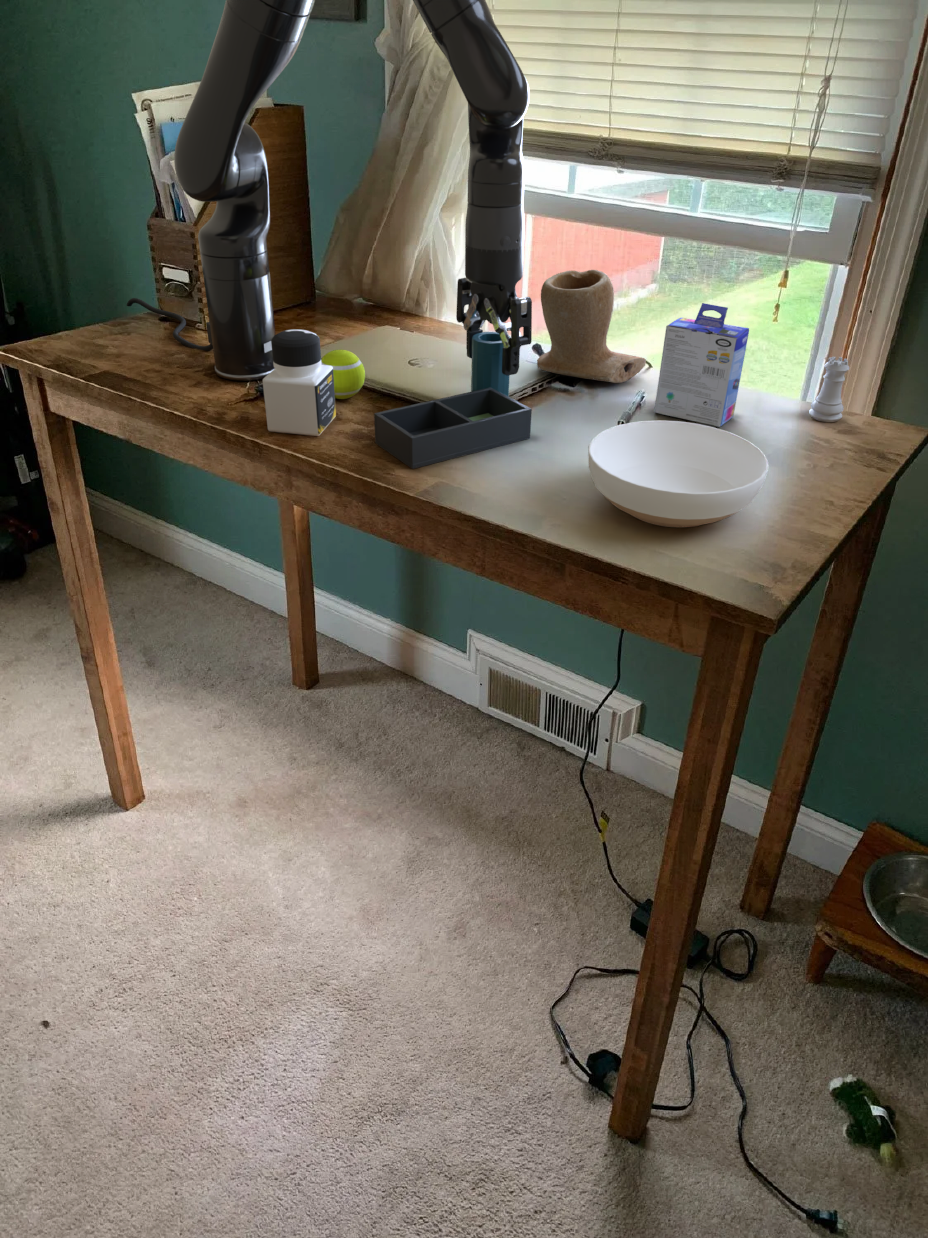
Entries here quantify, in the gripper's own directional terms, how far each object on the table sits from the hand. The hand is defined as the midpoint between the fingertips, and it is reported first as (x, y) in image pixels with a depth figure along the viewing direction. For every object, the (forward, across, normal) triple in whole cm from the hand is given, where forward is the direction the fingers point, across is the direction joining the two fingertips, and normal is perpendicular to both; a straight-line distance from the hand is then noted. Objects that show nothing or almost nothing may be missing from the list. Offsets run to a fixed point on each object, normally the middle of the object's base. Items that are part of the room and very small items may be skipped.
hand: (491, 365), depth 129 cm
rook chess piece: (+6, -28, -36) cm, 46 cm away
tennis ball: (+5, +12, +17) cm, 22 cm away
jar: (+5, 0, 0) cm, 5 cm away
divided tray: (+5, -9, +12) cm, 16 cm away
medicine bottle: (+5, +6, +26) cm, 27 cm away
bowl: (+6, -37, +1) cm, 37 cm away
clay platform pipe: (+6, +2, -18) cm, 19 cm away
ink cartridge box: (+6, -18, -21) cm, 29 cm away
